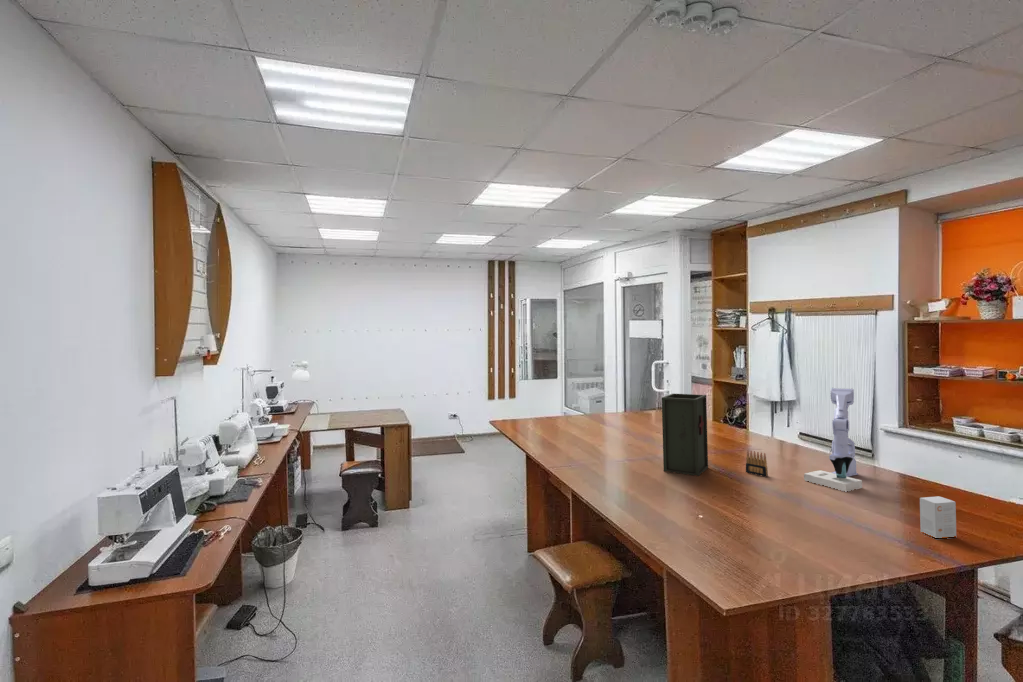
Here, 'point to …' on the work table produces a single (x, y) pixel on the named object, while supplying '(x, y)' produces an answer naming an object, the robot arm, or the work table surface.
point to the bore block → (833, 480)
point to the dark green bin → (685, 433)
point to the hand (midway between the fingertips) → (841, 473)
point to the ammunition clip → (756, 464)
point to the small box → (938, 516)
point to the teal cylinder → (843, 474)
